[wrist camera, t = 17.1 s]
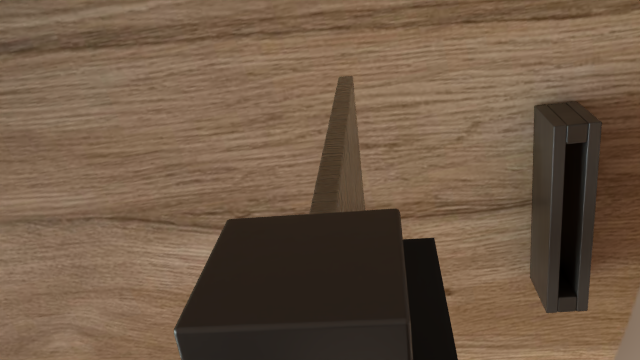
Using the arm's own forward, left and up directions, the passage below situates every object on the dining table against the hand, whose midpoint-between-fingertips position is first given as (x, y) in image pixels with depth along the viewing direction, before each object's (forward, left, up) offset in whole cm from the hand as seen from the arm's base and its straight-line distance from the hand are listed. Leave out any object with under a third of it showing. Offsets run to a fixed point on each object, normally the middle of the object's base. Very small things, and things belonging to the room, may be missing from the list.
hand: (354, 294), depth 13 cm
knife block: (-10, +8, -19) cm, 23 cm away
